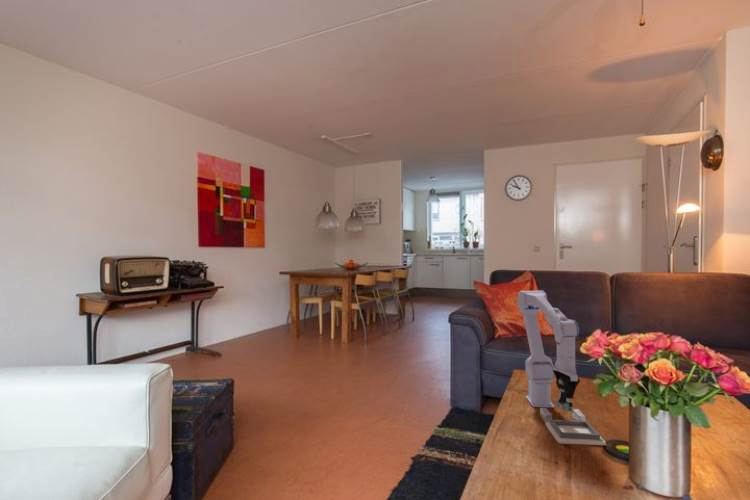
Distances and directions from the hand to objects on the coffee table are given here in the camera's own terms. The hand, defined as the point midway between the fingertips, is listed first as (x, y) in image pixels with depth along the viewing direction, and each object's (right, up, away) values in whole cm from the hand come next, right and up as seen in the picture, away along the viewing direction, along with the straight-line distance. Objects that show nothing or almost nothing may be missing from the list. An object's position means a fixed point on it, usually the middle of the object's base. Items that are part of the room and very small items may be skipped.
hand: (565, 394), depth 131 cm
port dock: (-1, -11, -7) cm, 12 cm away
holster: (0, -10, +3) cm, 11 cm away
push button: (0, -5, 0) cm, 5 cm away
